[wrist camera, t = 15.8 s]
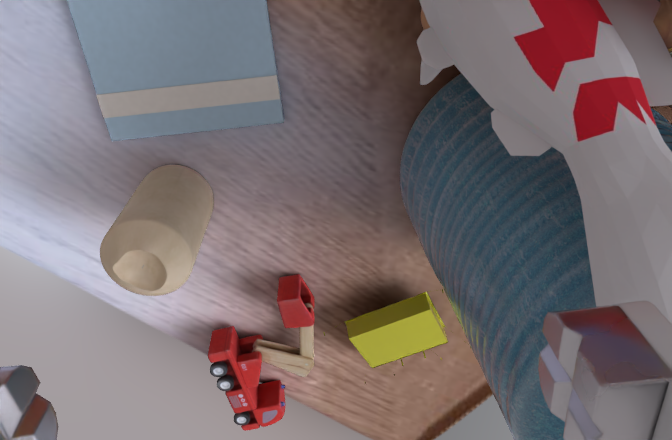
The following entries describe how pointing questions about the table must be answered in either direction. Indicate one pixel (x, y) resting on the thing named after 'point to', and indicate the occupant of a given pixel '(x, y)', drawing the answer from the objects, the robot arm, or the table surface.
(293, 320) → the toy fire truck
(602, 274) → the fish
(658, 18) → the figurine
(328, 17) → the table surface
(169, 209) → the candle
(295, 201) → the table surface
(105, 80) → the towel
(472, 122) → the vase
